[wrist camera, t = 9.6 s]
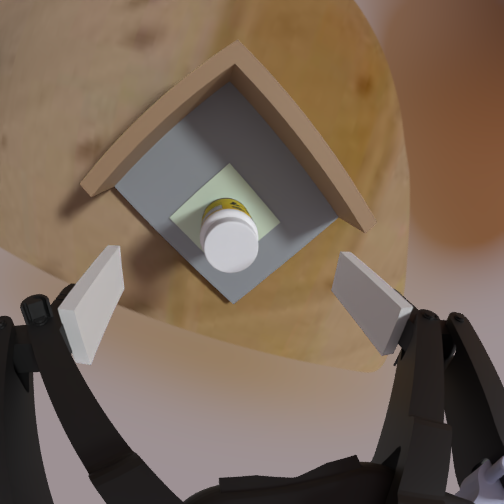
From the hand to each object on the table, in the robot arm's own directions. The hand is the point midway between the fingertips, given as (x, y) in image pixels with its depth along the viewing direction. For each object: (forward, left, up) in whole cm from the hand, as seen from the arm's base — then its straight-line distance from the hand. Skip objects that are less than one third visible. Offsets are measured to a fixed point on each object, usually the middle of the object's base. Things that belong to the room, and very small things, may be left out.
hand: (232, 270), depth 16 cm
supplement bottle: (0, 0, -13) cm, 13 cm away
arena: (-2, +3, -14) cm, 14 cm away
